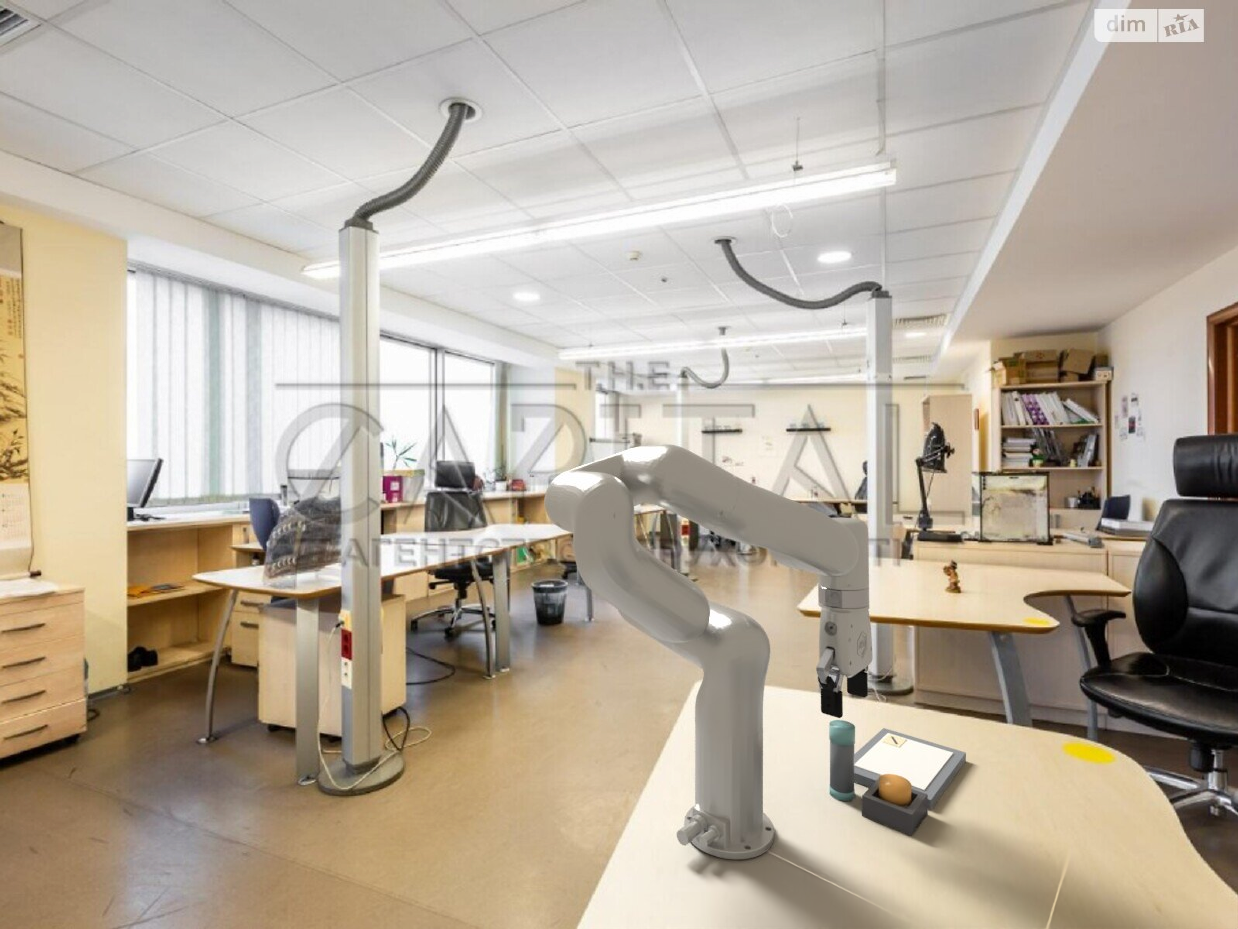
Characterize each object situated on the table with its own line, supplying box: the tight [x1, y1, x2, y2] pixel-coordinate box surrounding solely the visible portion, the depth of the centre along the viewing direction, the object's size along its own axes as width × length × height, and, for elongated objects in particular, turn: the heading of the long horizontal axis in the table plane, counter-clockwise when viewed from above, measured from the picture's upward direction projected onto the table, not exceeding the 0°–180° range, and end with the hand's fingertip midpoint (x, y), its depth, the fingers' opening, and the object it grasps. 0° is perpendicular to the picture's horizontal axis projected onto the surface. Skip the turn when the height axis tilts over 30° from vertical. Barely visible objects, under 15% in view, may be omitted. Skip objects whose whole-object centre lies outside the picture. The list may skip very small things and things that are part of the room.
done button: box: [879, 774, 911, 806], centre depth 90 cm, size 4×4×2 cm
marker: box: [828, 719, 856, 802], centre depth 95 cm, size 4×4×11 cm
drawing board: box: [854, 727, 967, 811], centre depth 103 cm, size 20×14×2 cm
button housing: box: [861, 778, 929, 837], centre depth 90 cm, size 7×7×3 cm
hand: (845, 704), depth 95 cm, fingers open, 9 cm apart
